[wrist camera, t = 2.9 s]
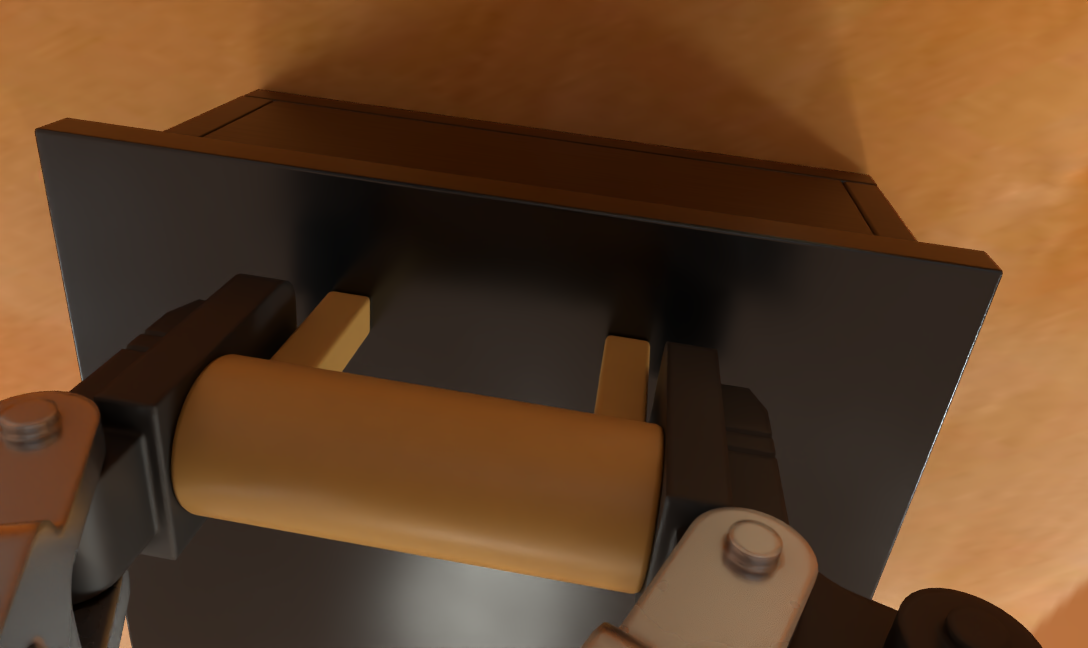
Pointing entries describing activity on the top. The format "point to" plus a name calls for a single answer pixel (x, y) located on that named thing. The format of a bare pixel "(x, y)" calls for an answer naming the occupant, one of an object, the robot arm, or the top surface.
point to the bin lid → (483, 384)
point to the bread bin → (554, 160)
